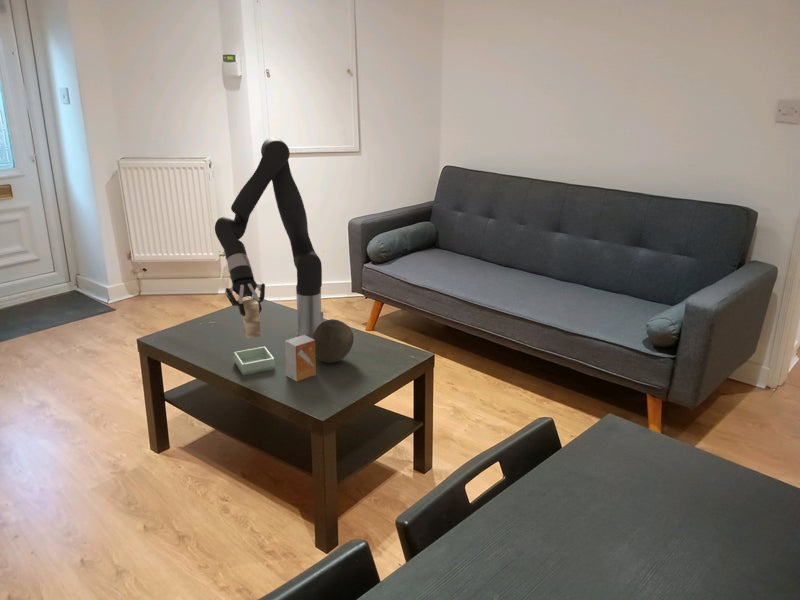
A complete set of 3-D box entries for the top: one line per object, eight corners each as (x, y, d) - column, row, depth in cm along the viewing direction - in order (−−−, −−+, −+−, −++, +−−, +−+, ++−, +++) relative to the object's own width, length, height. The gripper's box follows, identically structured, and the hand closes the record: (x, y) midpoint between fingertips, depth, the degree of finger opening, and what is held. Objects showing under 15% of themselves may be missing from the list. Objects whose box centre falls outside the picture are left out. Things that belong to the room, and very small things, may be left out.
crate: (265, 356, 239) (264, 346, 238) (274, 369, 230) (274, 358, 229) (234, 362, 234) (233, 352, 233) (243, 375, 225) (242, 364, 224)
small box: (296, 382, 221) (295, 346, 216) (285, 375, 225) (284, 340, 221) (316, 374, 226) (315, 339, 222) (305, 368, 231) (304, 334, 226)
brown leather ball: (329, 373, 227) (328, 332, 222) (304, 360, 237) (303, 320, 232) (361, 361, 237) (361, 322, 232) (336, 349, 246) (335, 311, 241)
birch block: (256, 331, 231) (255, 299, 227) (260, 336, 227) (258, 303, 223) (243, 333, 229) (241, 301, 225) (247, 338, 225) (245, 305, 221)
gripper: (220, 266, 224) (232, 312, 218) (262, 262, 230) (274, 306, 225) (217, 277, 230) (229, 322, 225) (258, 272, 237) (270, 315, 231)
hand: (251, 313), depth 225 cm, fingers closed on birch block, 4 cm apart
